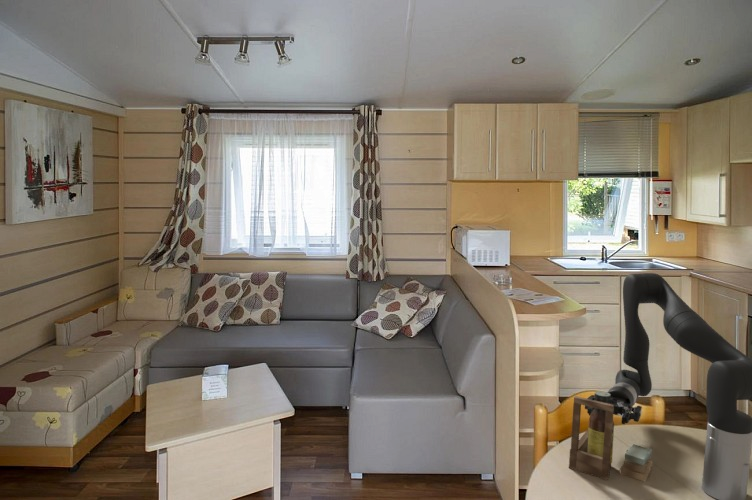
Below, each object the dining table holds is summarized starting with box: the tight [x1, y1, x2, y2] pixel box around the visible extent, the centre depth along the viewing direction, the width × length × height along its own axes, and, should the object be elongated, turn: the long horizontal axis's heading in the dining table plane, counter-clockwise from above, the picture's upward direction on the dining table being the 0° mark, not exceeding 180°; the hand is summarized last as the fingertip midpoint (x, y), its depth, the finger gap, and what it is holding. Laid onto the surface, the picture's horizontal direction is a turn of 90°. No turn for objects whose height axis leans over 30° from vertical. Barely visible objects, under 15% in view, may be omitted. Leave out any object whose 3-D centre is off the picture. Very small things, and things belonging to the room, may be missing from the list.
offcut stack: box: [619, 443, 653, 482], centre depth 144 cm, size 6×9×5 cm
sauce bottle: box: [587, 390, 615, 468], centre depth 146 cm, size 6×6×20 cm
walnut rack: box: [568, 395, 614, 481], centre depth 148 cm, size 10×15×20 cm, turn 144°
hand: (606, 416), depth 149 cm, fingers open, 8 cm apart
